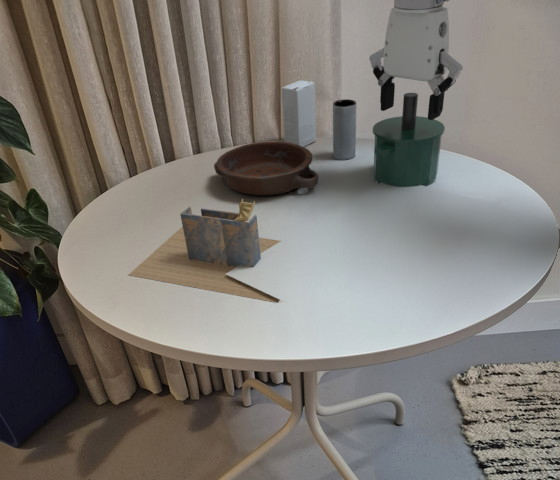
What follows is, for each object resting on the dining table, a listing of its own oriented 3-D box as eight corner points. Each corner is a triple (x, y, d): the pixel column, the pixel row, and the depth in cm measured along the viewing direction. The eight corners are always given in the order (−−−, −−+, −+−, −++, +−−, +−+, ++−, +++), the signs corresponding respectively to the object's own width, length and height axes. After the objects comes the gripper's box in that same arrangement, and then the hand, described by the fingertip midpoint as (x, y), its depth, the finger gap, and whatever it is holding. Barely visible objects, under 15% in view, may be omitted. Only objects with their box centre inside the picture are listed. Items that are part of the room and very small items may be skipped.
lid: (457, 129, 103) (462, 90, 99) (418, 151, 97) (422, 110, 92) (398, 117, 110) (400, 80, 106) (358, 137, 103) (359, 98, 99)
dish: (238, 160, 120) (236, 135, 117) (337, 172, 112) (336, 146, 109) (194, 194, 109) (189, 168, 106) (299, 210, 101) (298, 182, 97)
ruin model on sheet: (318, 246, 91) (317, 186, 84) (277, 302, 80) (272, 239, 73) (182, 226, 99) (171, 170, 93) (128, 274, 88) (111, 215, 81)
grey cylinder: (339, 161, 116) (340, 108, 109) (329, 154, 119) (328, 102, 112) (359, 156, 117) (360, 103, 110) (348, 150, 120) (349, 97, 114)
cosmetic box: (301, 138, 128) (299, 78, 120) (317, 141, 125) (316, 81, 117) (283, 146, 124) (279, 86, 116) (299, 150, 122) (296, 89, 114)
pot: (455, 168, 110) (461, 122, 104) (405, 200, 101) (409, 151, 95) (404, 155, 116) (407, 111, 110) (352, 184, 107) (353, 138, 102)
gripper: (481, -3, 87) (465, 115, 98) (386, -9, 96) (381, 100, 108) (456, 6, 83) (442, 128, 94) (359, -1, 92) (357, 111, 104)
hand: (409, 113), depth 101 cm, fingers open, 9 cm apart
